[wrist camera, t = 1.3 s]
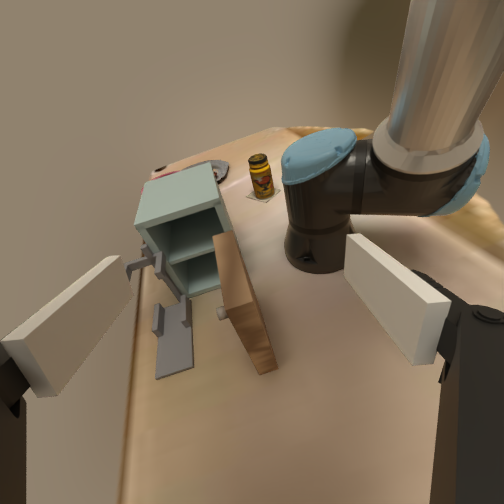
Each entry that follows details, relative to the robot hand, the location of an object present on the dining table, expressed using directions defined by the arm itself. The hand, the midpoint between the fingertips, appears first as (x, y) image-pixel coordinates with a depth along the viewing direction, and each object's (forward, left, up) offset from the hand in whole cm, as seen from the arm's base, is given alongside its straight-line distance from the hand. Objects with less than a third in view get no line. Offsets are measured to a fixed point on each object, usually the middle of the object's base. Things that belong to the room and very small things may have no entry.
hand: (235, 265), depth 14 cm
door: (+2, -11, -28) cm, 30 cm away
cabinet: (+10, -25, -28) cm, 39 cm away
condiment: (-11, -56, -28) cm, 64 cm away
